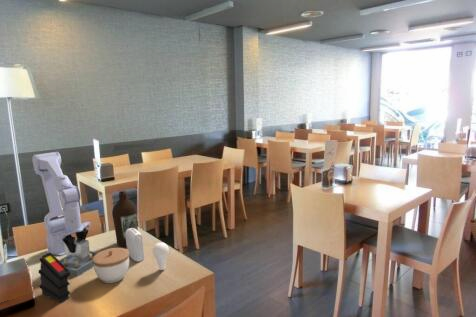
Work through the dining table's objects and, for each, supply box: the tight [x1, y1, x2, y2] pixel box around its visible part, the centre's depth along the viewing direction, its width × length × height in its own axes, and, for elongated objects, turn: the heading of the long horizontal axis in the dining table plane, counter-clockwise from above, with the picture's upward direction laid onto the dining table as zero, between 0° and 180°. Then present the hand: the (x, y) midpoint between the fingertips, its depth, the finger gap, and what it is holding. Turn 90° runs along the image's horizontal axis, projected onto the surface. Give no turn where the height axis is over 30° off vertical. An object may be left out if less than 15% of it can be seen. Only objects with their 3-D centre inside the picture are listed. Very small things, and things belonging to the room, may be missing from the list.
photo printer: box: [125, 228, 145, 262], centre depth 138 cm, size 10×4×12 cm, turn 39°
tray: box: [58, 250, 98, 277], centre depth 134 cm, size 14×14×4 cm
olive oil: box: [111, 189, 139, 248], centre depth 151 cm, size 11×11×25 cm
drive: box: [64, 237, 91, 259], centre depth 133 cm, size 9×4×6 cm, turn 67°
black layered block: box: [38, 253, 72, 303], centre depth 112 cm, size 4×13×15 cm, turn 60°
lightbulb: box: [152, 242, 170, 271], centre depth 127 cm, size 6×6×11 cm
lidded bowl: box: [92, 247, 130, 284], centre depth 122 cm, size 13×13×11 cm
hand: (77, 249), depth 133 cm, fingers closed on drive, 4 cm apart
